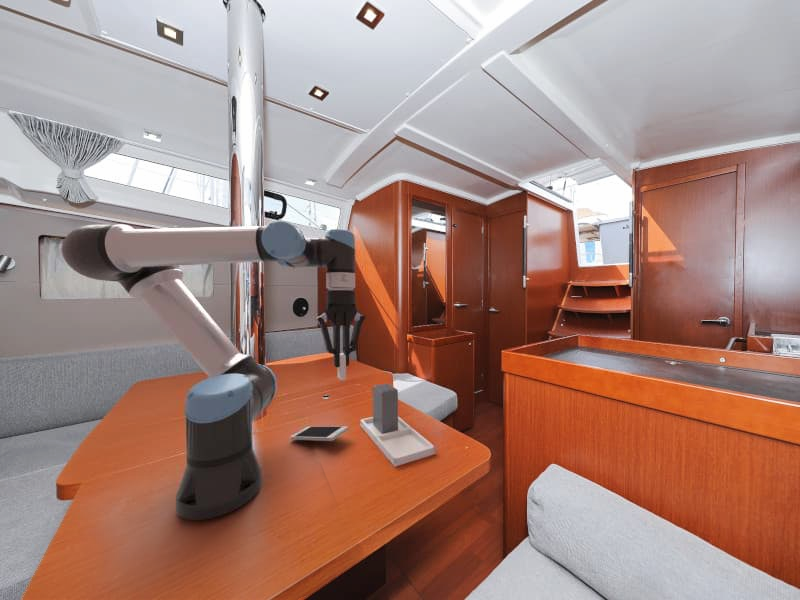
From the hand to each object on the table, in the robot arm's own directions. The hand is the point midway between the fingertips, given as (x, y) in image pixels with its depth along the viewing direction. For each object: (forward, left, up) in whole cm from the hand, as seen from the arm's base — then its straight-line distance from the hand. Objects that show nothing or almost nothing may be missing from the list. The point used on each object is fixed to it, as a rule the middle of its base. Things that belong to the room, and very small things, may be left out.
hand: (341, 378), depth 75 cm
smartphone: (0, 0, -17) cm, 17 cm away
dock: (+14, -3, -18) cm, 23 cm away
